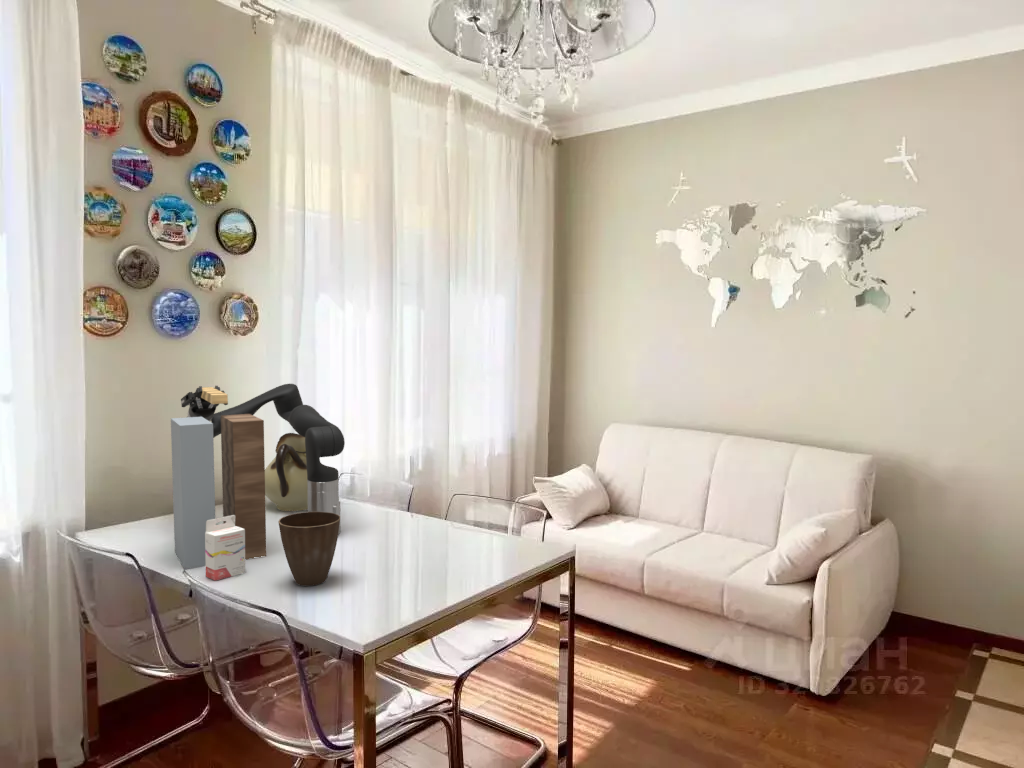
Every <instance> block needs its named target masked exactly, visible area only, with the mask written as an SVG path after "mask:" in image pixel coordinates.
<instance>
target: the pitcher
mask: <svg viewBox="0 0 1024 768" xmlns="http://www.w3.org/2000/svg"><path fill="white" fill-rule="evenodd" d="M275 447H276V448H275V453H276V455H275V457H274V458H273V459H272V461H270V463H269V464H268V465H266V466H267V467H266V468H265V497H267V498H268V500H269V501H271V503H273V504H274V505H276V509H277V510H279V511H283V512H301V511H308V493H307V466H306V448H305V437H303V436H301V435H300V434H298V433H294V432H287V433H285V434H283V435H281V436H280V437H279V439H278V441H277V444H276V446H275ZM320 463H321V464H323V463H322V462H321V461H320Z"/></svg>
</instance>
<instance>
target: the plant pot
mask: <svg viewBox="0 0 1024 768" xmlns="http://www.w3.org/2000/svg"><path fill="white" fill-rule="evenodd" d="M340 521H341V515H340V516H339V515H337V514H335V513H330V512H308V511H304V512H296V513H292V514H288V515H285V516H283V517H281V518H279V520H278V528H279V533H280V539H281V544H282V548H283V551H284V555H285V558H286V561H287V564H288V567H289V569H290V572H291V575H292V577H293V580H294V582H295V583H296V585H297V586H302V587H303V586H304V587H313V586H318V585H321V584H324V583H325V582H326V580H327V578H328V575H329V574H330V570H331V567H332V563H333V560H334V556H335V553H336V552H335V551H336V548H337V543H338V538H339V535H338V532H339V524H340Z"/></svg>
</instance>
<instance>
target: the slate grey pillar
mask: <svg viewBox="0 0 1024 768" xmlns="http://www.w3.org/2000/svg"><path fill="white" fill-rule="evenodd" d="M170 437H171V438H170V440H171V464H172V465H171V466H172V468H171V469H172V471H171V473H172V475H171V476H172V499H173V500H172V501H173V502H172V504H173V506H172V507H173V530H174V531H173V533H174V538H173V539H174V540H173V541H174V554H175V557H177V559H178V560H179V562H180V564H181V567H182V568H183V570H190V569H196V568H202V567H203V568H204V567H206V561H205V532H206V521H207V520H212V519H216V495H215V494H216V491H215V488H216V487H215V485H216V484H215V453H214V450H215V449H214V448H215V447H214V445H215V444H214V438H213V423H211V421H208V420H206V419H205V418H203V417H187V416H186V417H172V418H170Z"/></svg>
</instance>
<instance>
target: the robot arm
mask: <svg viewBox="0 0 1024 768" xmlns="http://www.w3.org/2000/svg"><path fill="white" fill-rule="evenodd" d="M202 387H203V386H201V385H200V386H198V387H197V388H196V389H195V391H194V392H193V391H189V392H188V393H186V394H185V395H184V396H183V397H182V398H180V403H181V404H180V405H181V408H185V407H188V410H187V416H186V417H203V418H205V419H206V420H208V421H210V422H211V423H213V439H214V438H216V437H217V436H220V435H221V415H238V414H251V415H253V416H255V414H256V413H257V412H258V411H259V410H260V409H261V408H262V407H264V405H266V404H268V403H270V402H273V404H274V407H275V410H276V413H277V414H278V416H279V417H280V418H281V419H283V420H285V421H286V422H287V423H288V424H289V425H290V426H291V427H292V429H293V430H294V431H295V432H296V434H300V435H301V436H303V437H305V448H306V466H307V493H308V509H307V512H330V513H335V514H337V515H339V516H340V517H341V501H339V500H340V498H339V497H340V495H339V493H340V491H339V482H340V481H339V478H340V477H339V474H340V473H339V470H338V468H335V467H333V466H328V465H325V464H323V463H322V462H321V458H329V457H336V456H338V455H340V454H341V453H342V452H343V450H345V449H344V448H345V443H346V442H345V437H344V434H343V433H342V430H341V429H340V428H339V426H337V425H335V424H333V423H332V422H330V421H329V420H327V419H326V418H325V417H323V416H322V415H321V414H320V413H319V412H318V411H317V410H316V409H315V408H314V407H313V406H310V405H309V404H304V402H303V400H302V396H301V394H300V391H299V390H300V389H299V387H298V385H297V384H294V383H285V384H281V385H279V386H275V387H274V388H271V389H269V390H267V391H265V392H263V393H261V394H259V395H257V396H255V397H253V398H251V399H249V400H247V401H245V402H242V403H240V404H238V405H235V406H232V407H229V408H227V409H224V410H221V411H218V412H216V410H217V407H218V406H219V405H220V404H212V403H210V402H208V401H206V400H205V399H203V398H201V395H202ZM213 388H214V389H217V390H219V391H221V392H223V393H226V391H224V390H221V388H220V386H219V385H215V386H214V387H213ZM223 405H224V406H227V405H229V402H228V403H224V404H223ZM320 462H321V463H322V464H321V463H320ZM341 523H342V522H341V520H340V524H339V532H338V536H339V534H340V533H341V528H342V527H341Z"/></svg>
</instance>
